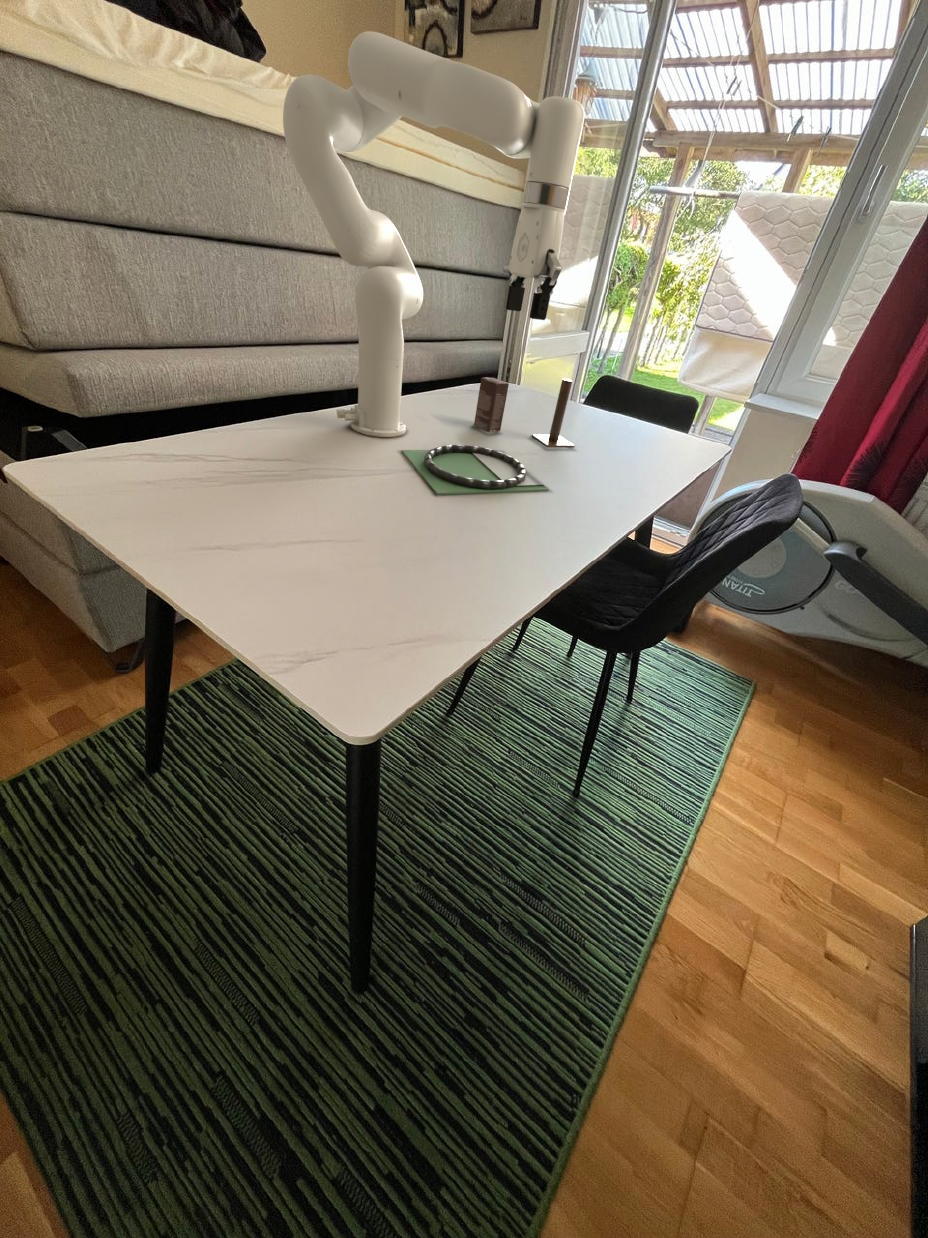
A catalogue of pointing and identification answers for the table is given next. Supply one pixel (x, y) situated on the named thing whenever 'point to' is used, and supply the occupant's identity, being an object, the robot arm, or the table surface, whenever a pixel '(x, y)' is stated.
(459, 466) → the mat
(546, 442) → the post
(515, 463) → the ring
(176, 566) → the table surface
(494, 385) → the box
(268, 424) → the table surface
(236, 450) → the table surface
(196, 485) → the table surface
